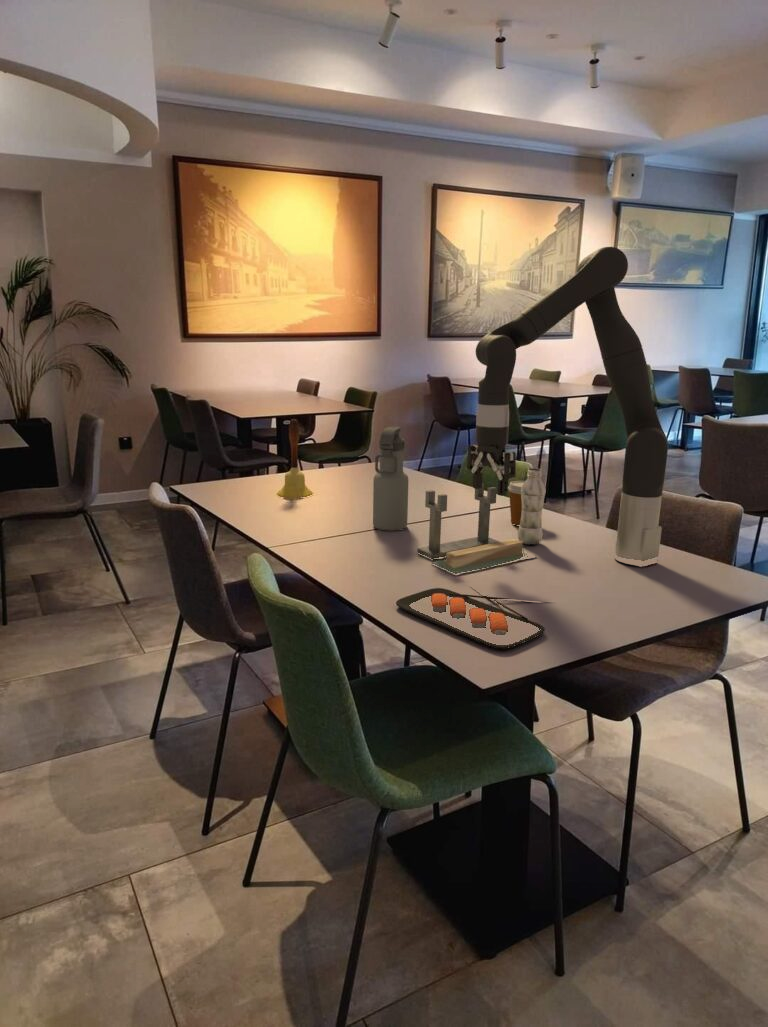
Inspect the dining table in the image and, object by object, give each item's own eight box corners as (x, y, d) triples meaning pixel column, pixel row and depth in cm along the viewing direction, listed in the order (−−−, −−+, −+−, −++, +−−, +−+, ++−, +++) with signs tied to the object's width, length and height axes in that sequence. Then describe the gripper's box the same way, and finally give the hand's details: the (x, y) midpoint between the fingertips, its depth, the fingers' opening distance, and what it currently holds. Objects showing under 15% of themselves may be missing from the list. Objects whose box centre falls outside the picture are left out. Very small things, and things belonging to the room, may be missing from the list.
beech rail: (522, 553, 180) (522, 541, 180) (454, 568, 168) (454, 556, 168) (513, 550, 183) (514, 538, 182) (446, 564, 171) (446, 552, 170)
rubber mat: (536, 557, 179) (536, 555, 179) (455, 575, 165) (455, 573, 165) (511, 548, 186) (511, 545, 186) (431, 564, 172) (431, 562, 172)
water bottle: (400, 533, 198) (403, 432, 190) (367, 529, 201) (368, 429, 193) (411, 524, 207) (414, 427, 200) (379, 520, 210) (381, 425, 203)
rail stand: (499, 546, 187) (502, 486, 183) (431, 560, 175) (434, 496, 171) (483, 541, 192) (486, 482, 188) (417, 554, 180) (419, 491, 176)
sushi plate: (389, 610, 146) (389, 592, 145) (484, 578, 166) (485, 562, 165) (502, 660, 126) (503, 639, 125) (596, 616, 145) (597, 599, 144)
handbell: (279, 489, 247) (278, 416, 240) (315, 490, 246) (315, 417, 240) (273, 498, 235) (271, 421, 228) (310, 499, 234) (310, 422, 228)
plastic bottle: (542, 541, 193) (548, 468, 188) (540, 548, 187) (546, 472, 182) (518, 539, 195) (523, 466, 190) (515, 546, 188) (520, 471, 183)
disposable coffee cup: (524, 530, 203) (527, 489, 200) (498, 523, 210) (501, 483, 207) (545, 525, 209) (548, 484, 205) (520, 518, 216) (522, 479, 213)
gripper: (526, 426, 163) (522, 495, 167) (483, 419, 175) (481, 484, 179) (501, 428, 159) (498, 499, 163) (460, 421, 171) (458, 488, 175)
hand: (489, 491), depth 171 cm, fingers open, 8 cm apart
